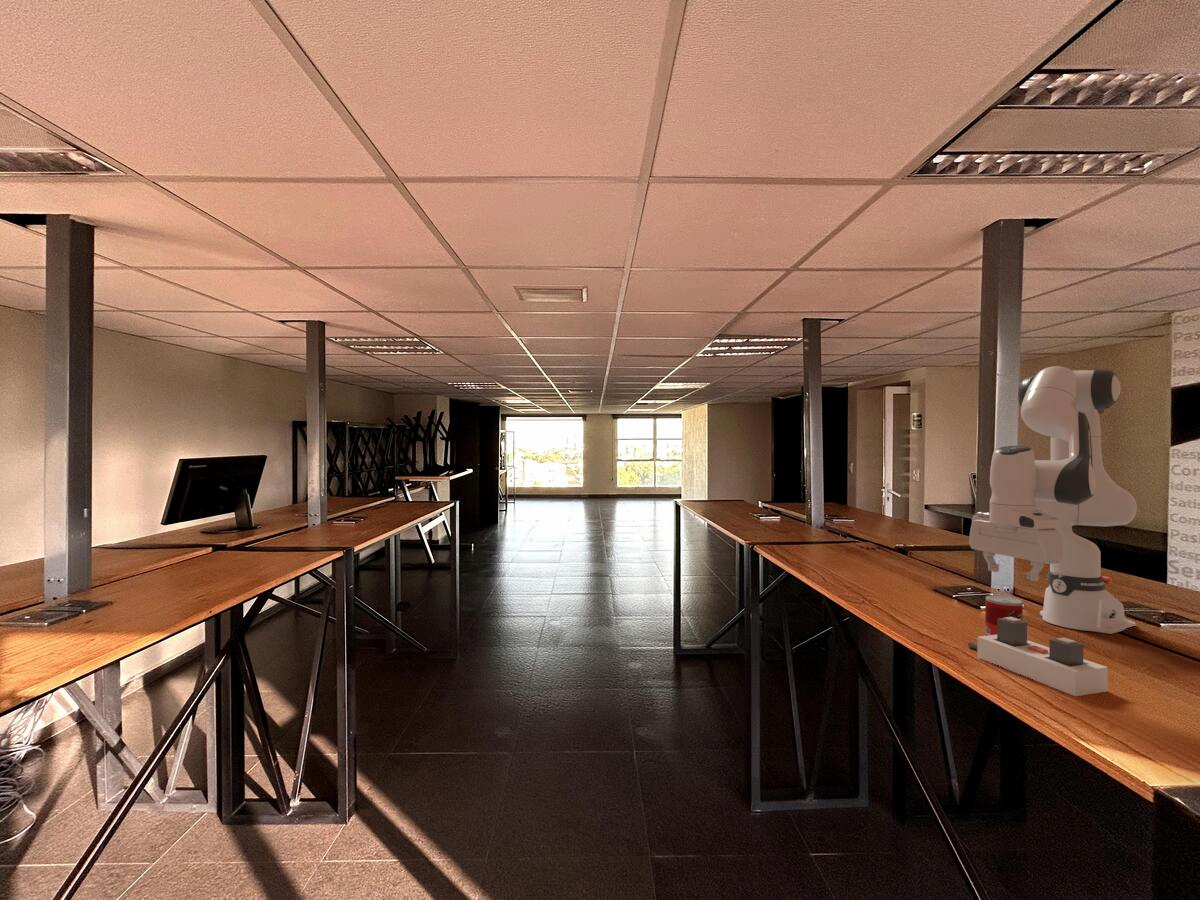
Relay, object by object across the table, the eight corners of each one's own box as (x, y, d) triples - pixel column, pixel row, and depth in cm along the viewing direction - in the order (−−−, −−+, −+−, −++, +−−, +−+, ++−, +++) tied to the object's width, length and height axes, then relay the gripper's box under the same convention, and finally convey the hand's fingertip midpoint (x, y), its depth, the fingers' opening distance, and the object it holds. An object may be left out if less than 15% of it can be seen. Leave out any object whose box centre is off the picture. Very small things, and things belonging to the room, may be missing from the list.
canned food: (1012, 648, 143) (1012, 604, 143) (978, 639, 150) (978, 597, 150) (1029, 644, 146) (1029, 601, 146) (995, 634, 154) (995, 593, 153)
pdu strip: (984, 645, 145) (984, 608, 145) (1107, 691, 118) (1108, 645, 118) (955, 648, 143) (955, 611, 143) (1075, 696, 116) (1075, 650, 116)
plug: (1010, 650, 136) (1010, 615, 136) (1026, 656, 132) (1027, 620, 132) (997, 652, 135) (997, 616, 135) (1013, 658, 131) (1013, 621, 131)
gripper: (962, 511, 142) (962, 567, 143) (1046, 522, 123) (1045, 587, 123) (982, 510, 144) (982, 565, 144) (1068, 521, 124) (1067, 585, 125)
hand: (1012, 575), depth 133 cm, fingers open, 8 cm apart
